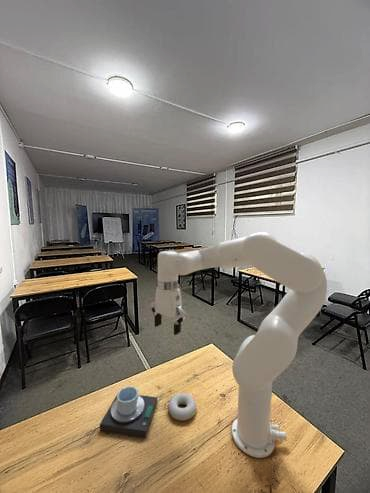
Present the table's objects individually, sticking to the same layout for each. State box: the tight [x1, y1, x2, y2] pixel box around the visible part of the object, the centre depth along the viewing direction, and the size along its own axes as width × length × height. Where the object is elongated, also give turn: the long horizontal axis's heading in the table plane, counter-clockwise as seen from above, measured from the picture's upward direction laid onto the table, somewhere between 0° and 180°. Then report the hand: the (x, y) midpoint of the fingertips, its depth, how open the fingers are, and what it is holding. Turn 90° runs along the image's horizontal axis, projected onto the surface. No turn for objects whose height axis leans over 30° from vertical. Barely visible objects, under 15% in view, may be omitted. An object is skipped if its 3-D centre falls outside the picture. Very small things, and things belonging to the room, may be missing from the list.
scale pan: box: [111, 394, 144, 423], centre depth 71 cm, size 11×11×1 cm
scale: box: [99, 394, 158, 439], centre depth 71 cm, size 15×13×3 cm
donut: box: [167, 392, 197, 422], centre depth 74 cm, size 10×4×10 cm
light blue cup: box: [116, 385, 139, 415], centre depth 71 cm, size 7×7×4 cm
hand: (167, 329), depth 79 cm, fingers open, 9 cm apart
